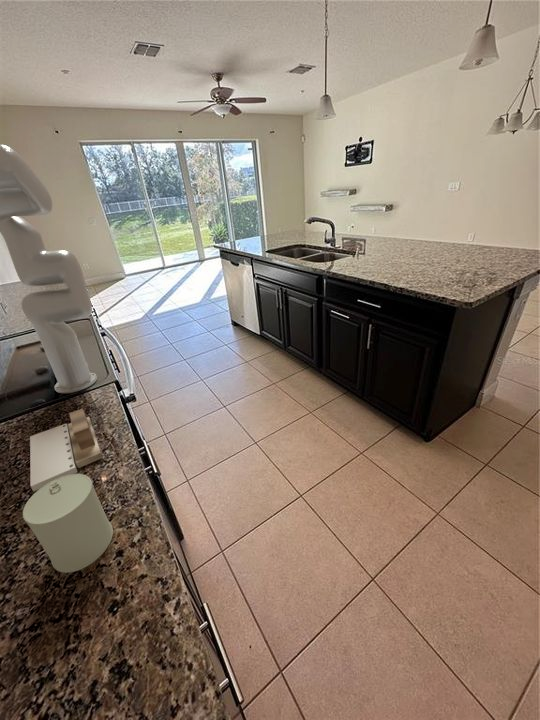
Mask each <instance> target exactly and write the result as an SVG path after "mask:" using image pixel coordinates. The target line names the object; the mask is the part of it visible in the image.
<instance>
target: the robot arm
mask: <svg viewBox="0 0 540 720" xmlns="http://www.w3.org/2000/svg"><path fill="white" fill-rule="evenodd" d="M52 210H53V201H52V198H51V194H50V193H49V191H48V189H47V187H46V186H45V184H44V183H43V182H42V181H41V179H40V178H39V177H38V175H37V174H36V173H35V172H34V170H33V169H32V168H31V166H30V165H29V164H28V163H27V161H26V160H25V158H23V157H22V156H21V155H20V154H19V152H17V151H16V150H14V149H13V148H11V147H10V146H7V145H5V144H0V234H1V236H2V238H3V240H4V242H5V244H6V247H7V249H8V253H9V256H10V258H11V261H12V264H13V266H14V269H15V271H16V274H17V276H18V279H19V280H20V282H21V283H22V284H23V285H25V286H27V287H31V288H34V287H50V286H58V285H65V286H66V288H59V289H49V290H48V289H47V290H40V291H35V292H31V293H29V294H26V295H25V296H23V297H22V300H21V303H20V304H21V309H22V311H23V314H24V316H25V317H26V319H27V320H28V321H29V323H30V324H31V326H32V327H33V329H34V330H35V332H36V335H37V337H38V339H39V341H40V343H41V346H42V348H43V350H44V353H45V355H46V357H47V360H48V362H49V364H50V367H51V369H52V371H53V373H54V376H55V378H56V381H57V382H56V384H55V385H54V392H55V391H56V392H57V393H58V394H59V393H60V394H72V393H76V392H79V391H82V390H85V389H87V388H88V387H91V386H92V385H94V384H95V383H96V382H97V380H98V376H97V374H96V373H95V372H90V369H89V363H88V362H86V358H85V356H84V352H83V349H82V347H81V345H80V343H79V339H78V337H77V334H76V332H75V331H74V329H73V328H72V327H71V326H70V325H69V324H67V323H66V322H68V321H74V320H75V321H76V320H82V319H86V318H89V317H91V315H92V312H93V305H92V302H91V301H92V300H91V298H90V293H89V291H88V287H87V285H86V284H87V283H86V281H85V277H84V274H83V270H82V268H81V265H80V262H79V260H78V258H77V257H76V256H75V254H74V253H72V252H71V251H69V250H63V249H56V250H47V249H46V246H45V244H44V241H43V238H42V234H41V232H39V230H38V229H37V228H36V227H35V226H34V225H32V224H31V222H28V221H27V220H26V219H25V218H23V217H32V216H33V217H34V216H44V215H45V216H46V215H48V214H50V213H51V212H52Z"/></svg>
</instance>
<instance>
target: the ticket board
mask: <svg viewBox="0 0 540 720" xmlns="http://www.w3.org/2000/svg"><path fill="white" fill-rule="evenodd" d="M29 440H30V441H29V447H30V448H29V449H30V450H29V451H30V453H29V454H30V455H29V457H30V458H29V460H30V462H29V463H30V468H29V469H30V470H29V471H30V474H29V475H30V476H29V477H30V488H31V490H32V491H33V492H34V493H35V492H37V491H38V490H39V489H40V488H42V487H43V486H45V485H46V484H48V483H50V482H51V481H53V480H55V479H58V478H60V477H63V476H66V475H71V474H78V467H77V465H76V462H75V457H74V452H73V447H72V442H71V437H70V432H69V427H68V423H63V424H62V425H58V426H56V427H52V428H50V429H48V430H45V431H42V432H38V433H36V434H32V435H30V436H29Z"/></svg>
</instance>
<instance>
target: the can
mask: <svg viewBox="0 0 540 720" xmlns="http://www.w3.org/2000/svg"><path fill="white" fill-rule="evenodd" d="M22 518H23V520H24V521H25V523H26V524H27V525H28V527H29V528H30V529H31V531H32V533H33V534H34V536H35V537H36V539H37V540H38V542H39V543H40V545H41V546H42V548H43V549H44V552H45V553H46V554H47V556H48V558H49V559H50V560H49V561H51V565H52V567H53V568H54V570H56V571H57V572H59V573H65V574H67V573H74V572H77V571H81V570H82V569H85V568H86V567H88V566H90V565H91V564H93V563H94V562H96V561H97V560H98V559H99V558H100V557H101V556H103V554H104V553H105V551H106V550H107V549H108V547H109V546H110V544H111V541H112V538H113V535H114V530H113V525H112V524H111V522H110V521H109V519H108V517H107V515H106V513H105V511H104V508H103V506H102V504H101V502H100V499H99V497H98V494H97V492H96V490H95V487H94V485H93V482H92V479H91V478H90V477H89V476H87V475H85V474H81V473H75V474H71V475H66V476H63V477H60V478H58V479H55V480H53V481H51V482H50V483H48V484H46V485H45V486H43V487H42V488H40V489H38V490H36V491H35V492H34V493H33V494H32V495H31V497H30V498H29V499H28V500H27V501H26V503H25V505H24V507H23V510H22Z"/></svg>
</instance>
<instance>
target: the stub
mask: <svg viewBox="0 0 540 720" xmlns="http://www.w3.org/2000/svg"><path fill="white" fill-rule="evenodd" d="M69 418H70V423H67V425H68V428H69V432H70V437H71V442H72V447H73V452H74V457H75V462H76V467H77V469H80V468H83V467H84V466H87V465H89V464H92V463H93V462H96V461H98V460H101V459H103V455H102V450H101V449H100V445H99V442H98V439H97V436H96V432H95V430H94V427H93V423H92V420H91V418H90V416H86V413H85V411H84V408H80V409H77V410H74V411H71V412H69Z"/></svg>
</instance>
